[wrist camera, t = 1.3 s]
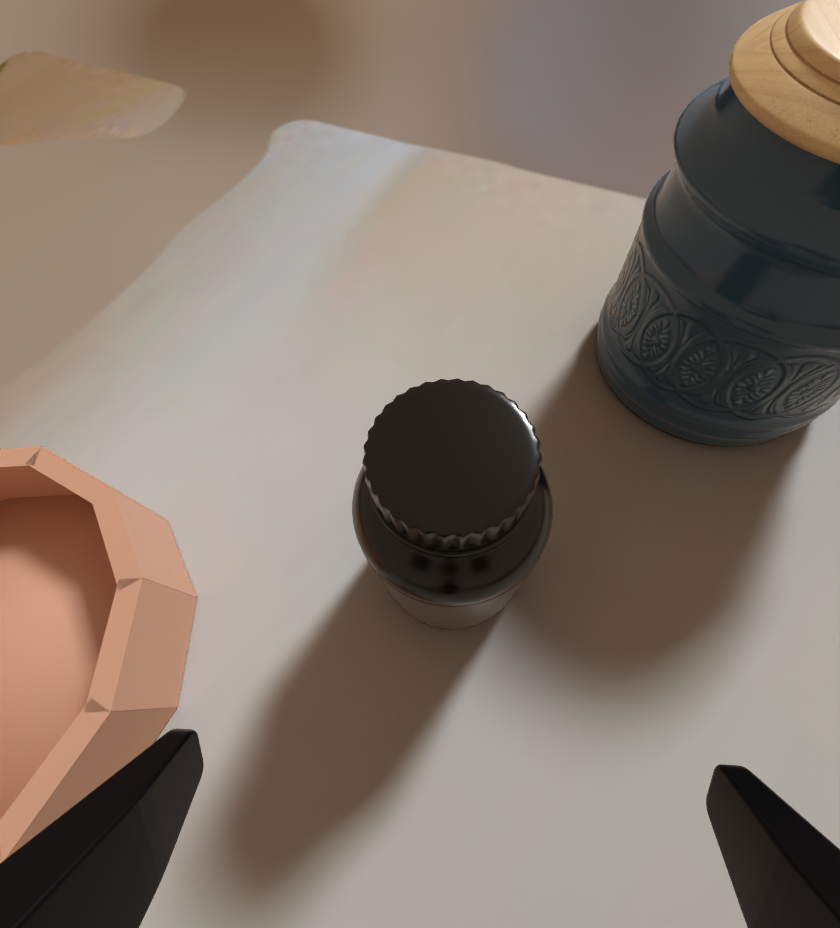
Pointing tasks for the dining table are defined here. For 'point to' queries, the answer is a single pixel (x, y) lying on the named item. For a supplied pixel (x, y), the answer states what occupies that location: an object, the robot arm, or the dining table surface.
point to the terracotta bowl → (80, 636)
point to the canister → (740, 249)
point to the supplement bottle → (452, 501)
